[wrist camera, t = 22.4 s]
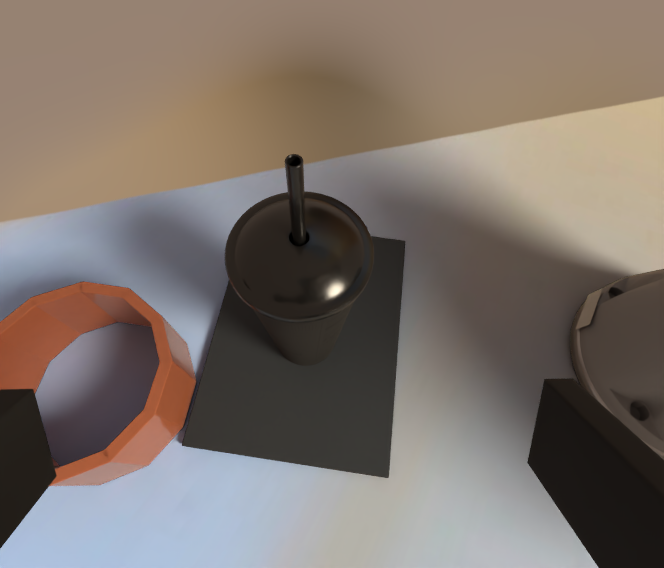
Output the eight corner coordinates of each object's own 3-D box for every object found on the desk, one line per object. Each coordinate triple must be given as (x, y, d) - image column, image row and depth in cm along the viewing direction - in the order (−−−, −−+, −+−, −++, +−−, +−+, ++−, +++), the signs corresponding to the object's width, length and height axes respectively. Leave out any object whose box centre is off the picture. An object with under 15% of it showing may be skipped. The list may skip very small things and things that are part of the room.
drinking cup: (301, 277, 35) (286, 65, 17) (371, 331, 33) (436, 153, 15) (238, 342, 32) (143, 168, 14) (311, 404, 30) (304, 292, 12)
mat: (404, 244, 38) (405, 240, 37) (387, 478, 29) (388, 477, 28) (247, 222, 38) (246, 218, 38) (183, 446, 29) (181, 445, 29)
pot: (212, 326, 34) (193, 297, 28) (163, 495, 28) (127, 499, 23) (66, 305, 34) (19, 271, 29) (-11, 467, 28) (-88, 464, 23)
